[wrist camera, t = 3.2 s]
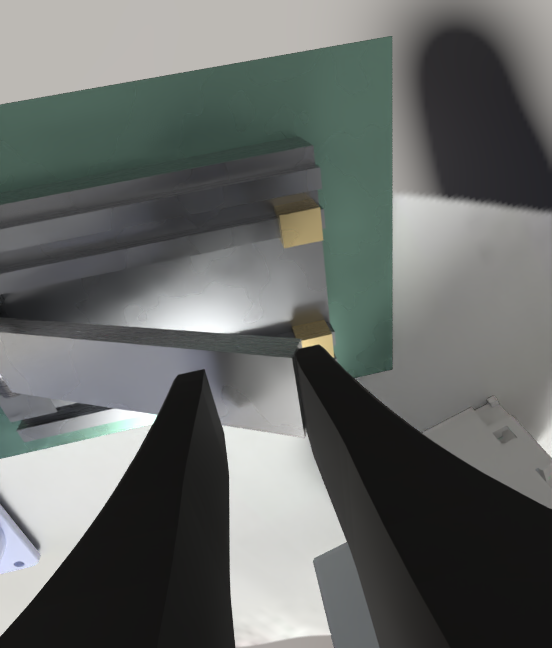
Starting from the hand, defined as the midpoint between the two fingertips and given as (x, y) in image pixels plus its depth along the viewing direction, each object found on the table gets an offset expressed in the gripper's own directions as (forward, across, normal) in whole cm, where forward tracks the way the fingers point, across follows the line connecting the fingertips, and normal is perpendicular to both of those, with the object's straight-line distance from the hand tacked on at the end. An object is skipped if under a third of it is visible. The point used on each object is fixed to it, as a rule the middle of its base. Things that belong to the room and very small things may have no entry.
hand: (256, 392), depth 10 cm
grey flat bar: (+3, +3, 0) cm, 4 cm away
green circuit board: (+8, +3, 0) cm, 9 cm away
